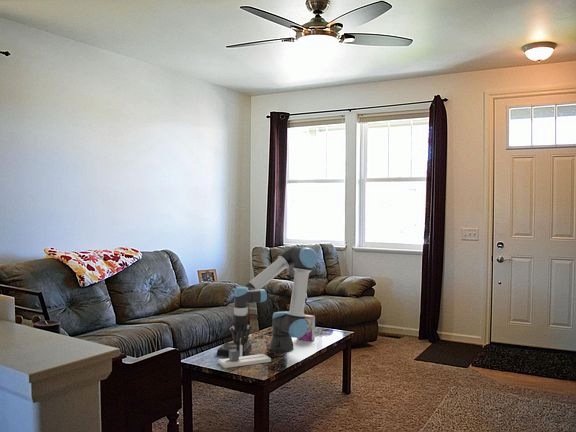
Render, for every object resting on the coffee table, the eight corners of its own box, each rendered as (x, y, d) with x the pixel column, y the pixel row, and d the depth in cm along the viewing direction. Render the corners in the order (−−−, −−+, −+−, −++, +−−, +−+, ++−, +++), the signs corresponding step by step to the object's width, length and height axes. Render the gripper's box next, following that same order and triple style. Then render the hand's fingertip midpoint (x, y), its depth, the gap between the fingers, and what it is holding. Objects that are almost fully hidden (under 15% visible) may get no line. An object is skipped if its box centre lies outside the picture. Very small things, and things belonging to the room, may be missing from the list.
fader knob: (235, 357, 291) (235, 349, 291) (238, 360, 287) (238, 351, 287) (228, 358, 290) (228, 349, 290) (232, 361, 285) (232, 352, 285)
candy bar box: (296, 339, 345) (297, 315, 345) (300, 337, 349) (300, 313, 349) (311, 341, 340) (312, 316, 340) (315, 340, 344) (315, 315, 344)
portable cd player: (224, 348, 321) (224, 342, 320) (251, 350, 318) (251, 344, 318) (216, 356, 304) (216, 349, 304) (244, 358, 301) (244, 351, 301)
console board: (263, 357, 302) (263, 353, 302) (270, 361, 294) (271, 357, 294) (218, 363, 289) (218, 359, 289) (224, 368, 281) (224, 364, 281)
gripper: (248, 312, 296) (248, 353, 296) (227, 314, 290) (226, 355, 290) (254, 314, 289) (253, 356, 290) (232, 316, 283) (231, 359, 284)
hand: (240, 356), depth 290 cm, fingers closed
